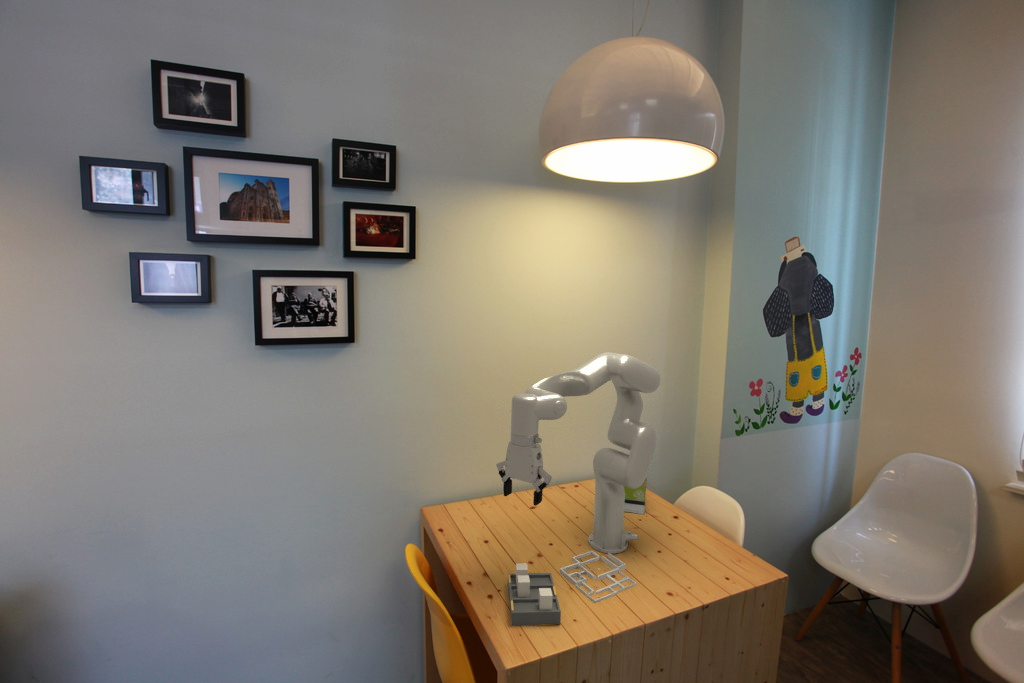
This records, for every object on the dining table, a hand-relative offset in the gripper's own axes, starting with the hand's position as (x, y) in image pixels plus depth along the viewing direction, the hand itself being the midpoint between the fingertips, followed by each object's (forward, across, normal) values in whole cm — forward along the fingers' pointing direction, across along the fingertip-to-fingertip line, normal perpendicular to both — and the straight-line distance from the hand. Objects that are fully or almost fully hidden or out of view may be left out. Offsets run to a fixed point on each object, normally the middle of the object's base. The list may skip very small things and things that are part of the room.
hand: (522, 499), depth 127 cm
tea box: (+24, -8, -64) cm, 69 cm away
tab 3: (+21, -13, +9) cm, 26 cm away
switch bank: (+24, -8, +6) cm, 26 cm away
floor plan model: (+25, -14, -17) cm, 33 cm away
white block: (+21, -6, +8) cm, 23 cm away
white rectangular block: (+21, -3, +3) cm, 22 cm away
